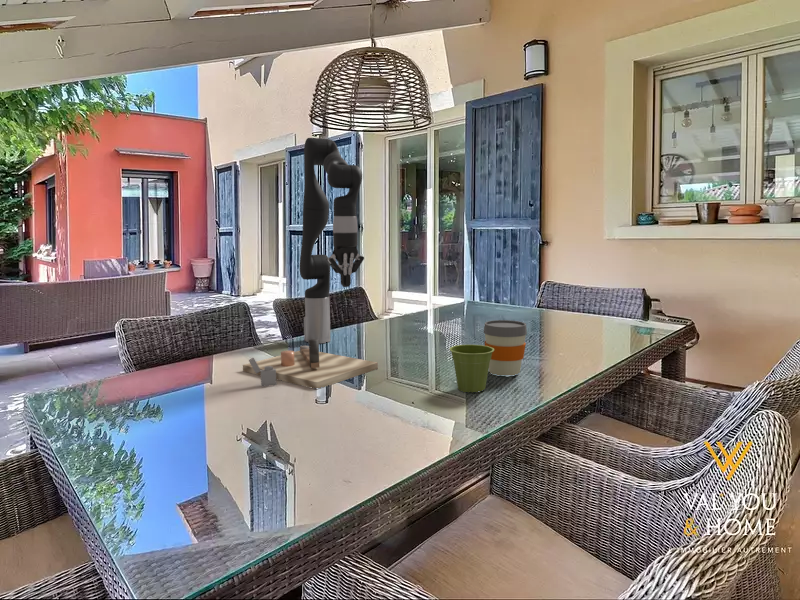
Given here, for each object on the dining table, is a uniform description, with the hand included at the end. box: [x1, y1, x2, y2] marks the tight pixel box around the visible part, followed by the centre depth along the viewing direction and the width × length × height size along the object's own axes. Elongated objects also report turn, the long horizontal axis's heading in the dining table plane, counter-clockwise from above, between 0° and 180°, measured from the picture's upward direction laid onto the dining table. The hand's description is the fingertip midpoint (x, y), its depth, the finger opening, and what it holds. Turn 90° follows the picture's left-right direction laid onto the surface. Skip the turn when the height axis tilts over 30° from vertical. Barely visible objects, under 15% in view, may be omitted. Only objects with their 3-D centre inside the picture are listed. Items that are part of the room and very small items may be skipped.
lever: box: [299, 339, 320, 368], centre depth 167 cm, size 22×3×8 cm, turn 19°
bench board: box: [242, 350, 379, 389], centre depth 165 cm, size 32×26×2 cm
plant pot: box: [448, 344, 494, 393], centre depth 143 cm, size 12×12×11 cm
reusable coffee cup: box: [483, 319, 528, 375], centre depth 159 cm, size 13×13×15 cm
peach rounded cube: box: [280, 350, 295, 366], centre depth 163 cm, size 4×4×4 cm
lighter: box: [248, 357, 278, 387], centre depth 149 cm, size 7×2×8 cm, turn 106°
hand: (345, 286), depth 169 cm, fingers closed
